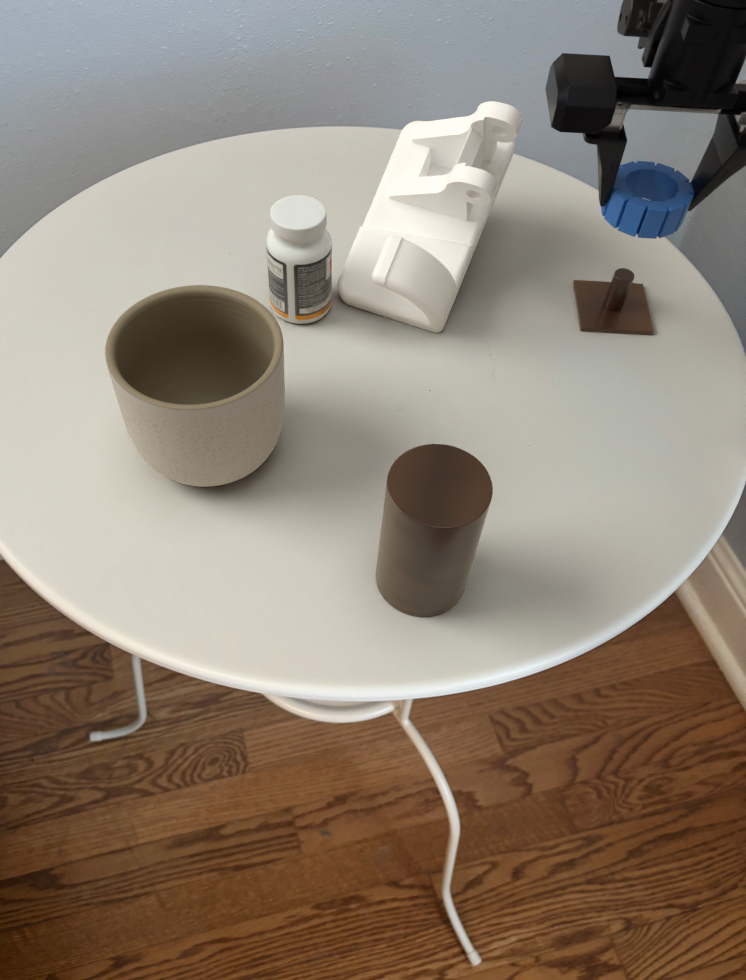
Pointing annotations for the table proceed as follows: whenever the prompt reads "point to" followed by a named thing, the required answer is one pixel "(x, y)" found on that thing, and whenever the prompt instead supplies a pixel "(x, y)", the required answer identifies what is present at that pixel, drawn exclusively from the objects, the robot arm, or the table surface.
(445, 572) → the pedestal
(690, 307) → the table surface
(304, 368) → the table surface
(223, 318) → the planter
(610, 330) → the peg stand
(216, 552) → the table surface
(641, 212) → the tape roll
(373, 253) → the tape dispenser
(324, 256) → the pill bottle
